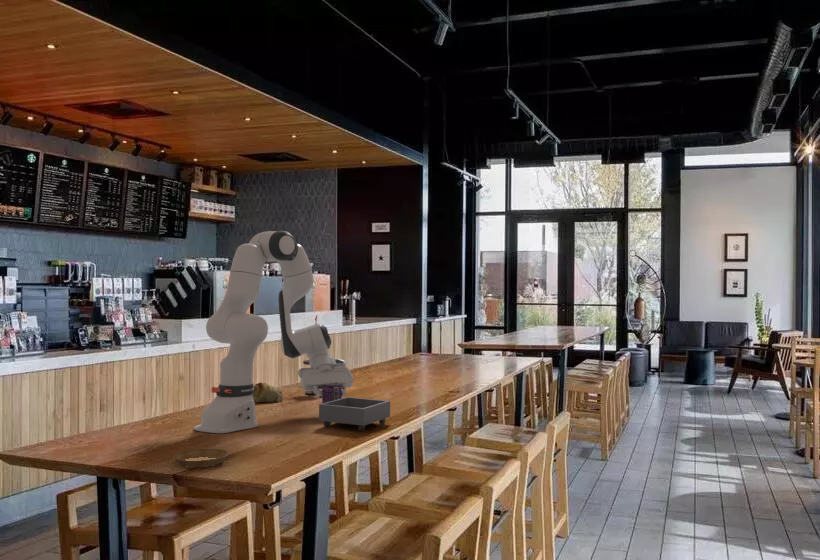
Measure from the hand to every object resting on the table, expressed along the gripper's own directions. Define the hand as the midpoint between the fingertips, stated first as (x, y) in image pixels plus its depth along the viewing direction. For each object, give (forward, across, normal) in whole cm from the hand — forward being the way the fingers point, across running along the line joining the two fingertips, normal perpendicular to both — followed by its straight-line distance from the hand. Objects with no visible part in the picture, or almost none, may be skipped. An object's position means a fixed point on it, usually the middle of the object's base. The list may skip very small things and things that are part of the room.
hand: (332, 396), depth 277 cm
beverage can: (+5, 0, +6) cm, 8 cm away
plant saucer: (+39, -59, -28) cm, 76 cm away
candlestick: (-31, +14, +42) cm, 54 cm away
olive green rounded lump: (-26, -12, +37) cm, 46 cm away
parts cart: (+19, 0, -9) cm, 21 cm away
